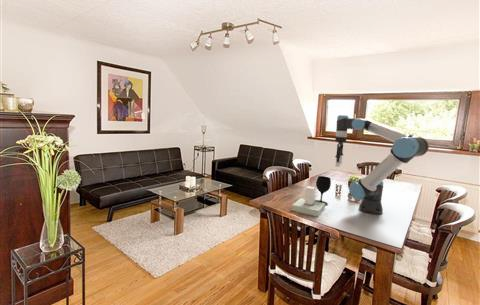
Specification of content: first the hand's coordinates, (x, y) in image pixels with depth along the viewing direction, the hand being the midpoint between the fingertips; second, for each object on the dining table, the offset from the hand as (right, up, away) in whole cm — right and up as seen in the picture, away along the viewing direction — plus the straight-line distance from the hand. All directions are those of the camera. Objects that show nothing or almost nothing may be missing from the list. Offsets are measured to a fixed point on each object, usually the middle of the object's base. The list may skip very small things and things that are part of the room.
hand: (338, 165), depth 193 cm
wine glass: (-12, -29, +4) cm, 32 cm away
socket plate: (-25, -31, -11) cm, 41 cm away
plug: (-25, -31, -11) cm, 41 cm away
